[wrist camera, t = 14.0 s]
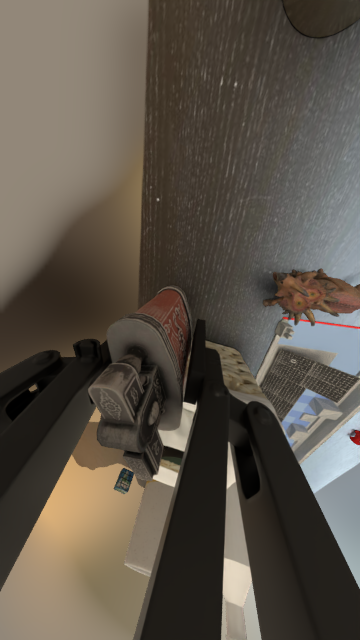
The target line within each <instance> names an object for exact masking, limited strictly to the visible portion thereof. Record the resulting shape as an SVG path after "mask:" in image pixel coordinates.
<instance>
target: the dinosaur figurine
mask: <svg viewBox="0 0 360 640" xmlns="http://www.w3.org/2000/svg"><path fill="white" fill-rule="evenodd" d="M292 272H293V273H289V274H288V273H277V272H274V273H273V278H274V281H275V282H276V284H277V285H278V292H277V293H276V294H275V296H278V297H280V296H283V297H281V298H279V299H274V300H270V299H269V300H264V301H263V302H264V303H263V305H265V307H266V306H268V305H269V306H271V305H272V306H273V305H274V304H276V303H278V304H279V305H280V306H281V307H282V308H283V310H285V312H283V313H282V314H287V313H289V317H288V320H291V319H292V318H293V316H295V320H294V325H295V326H296V325H297V324H298V323H299V321H300V319H301V315H302V313H304V314H305V315H306V316H307V318H308V319H309V321H310V322H311V326H315V318H314V315H313V313H312V311H311V310H310V309H313V310H314V309H319V310H321V311H323V312H327V313H330V314H331V315H333V316H337V317H338V316H339V315H338V314H337V313H352V312H353V311H355V310H358V309H360V284H359V285H357V286H355V287H353V286H351V285H350V284H348V283H346V282H345V281H343V280H341V279H337V278H331V277H328V276H327V275H326V274H325V273H323V269H319V271H318V272H316V271H313V272H304V273H302V272H299V271H298V272H296V271H295V270H292Z"/></svg>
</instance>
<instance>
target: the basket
mask: <svg viewBox="0 0 360 640" xmlns="http://www.w3.org/2000/svg"><path fill="white" fill-rule="evenodd" d="M192 341H193V340H192ZM206 347H207V348H211V349H215V350H217V351H218V353H219V354H220V361H221V366H222V373H223V379H224V384H225V386H226V387H227V388H228V390H229V392H230V393H231V394H232V395H233V396H234V397H236V398H237V399H239V400H241V401H243V402H245V403H246V404H248V403H249V402H251V401H258V402H260V403H262V404H264V405H265V406H267V407H268V408H269V409H270V410H271V411H272V412H273V413H274V415H275V416H276V418H277V420H278V422H279V424H280V426H281V428H282V430H283V432H284V434H285V431H284V427H283V425H282V424H281V422H280V420H279V418H278V416H277V415H276V412H275V409H274V407H273V406H272V404H271V403H270V401H269V400H268V399H267V398H266V396H265V395H264V394H263V393H262V390H261V388H260V387H259V386H258V385H257V381H256V380H255V379H254V376H253V375H252V374H251V372H250V369H249V368H248V366H247V364H246V363H245V361H244V360H243V358H242V356H241V354H240V352H238V351H237V350H236V349H233V348H230V347H226V346H223V345H220V344H215V343H212V342H210V341H206ZM189 361H190V357H189V358H188V362H187V368H186V374H185V380H184V386H183V394H185V387H186V381H187V374H188V367H189ZM183 400H184V399H183ZM196 406H197V402H196V405H193V404H190V403H186V402H183V409H182V417H181V424H180V426H179V428H178V429H176V430H172V431H162V430H158V432H159V434H160V437H161V440H162V443H163V445H165V446H169V447H172V448H175V449H178V450H181V451H185V447H186V443H187V440H188V436H189V432H190V428H191V425H192V419H193V416H194V414H195V411H196ZM179 469H180V465H177V464H174V463H173V462H172V463H171V462H170V461H167V460H164V459H161V462H160V467H159V471H158V475H154V476H153V479H154V480H157V481H159V482H162V483H164V484H167V485H170V486H173V487H175V484H176V480H177V476H178V473H179ZM235 481H236V479H235V473H234V467H233V460H232V454H231V448H230V442H228V465H227V489H228V488H229V487H230V486H231V485H232V484H233V483H234V482H235Z"/></svg>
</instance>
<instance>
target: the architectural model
mask: <svg viewBox="0 0 360 640" xmlns="http://www.w3.org/2000/svg"><path fill="white" fill-rule="evenodd" d="M294 320H295V319H294V318H292V319H291V320H288V318H287V317H283V319H282V321H279V323H278V326H277V328H276V330H275V333H276V334H275V336H274V338H273V340H272V343H271V345H270V347H269V349H268V351H267V353H266V356H265V358H264V360H263V362H262V364H261V366H260V369H259V371H258V373H257V375H256V377H255V380H256V381H257V385H258V386H259V387H260V388H261V390H262V393H263V394H264V395H265V396H266V398H267V399H268V400H269V401H270V403H271V404H272V406H273V407H274V409H275V412H276V415H277V416H278V418H279V420H280V422H281V424H282V425H283V427H284V431H285V436H286V438H287V440H288V442H289V444H290V446H291V448H292V451H293V453H294V455H295V457H296V459H297V461H298V463H299V465H300V464H301V463H302V462H303V461H304V460H305V459H306V458H308V457H309V456H310V455H311V454H312V453H313V452H314V451H315V450H316V449H318V448H319V447H320V446H321V445H322V444H323V443H324V442H325V441H326V440H328V439H329V438H330V437H331V436H332V435H333V434H334V433H335V432H336V431H338V430H339V429H340V428H341V427H342V426H343V425H344V424H345V423H346V422H348V421H349V420H350V419H351V418H352V417H353V416H354V415H355V414H356V413H358V412H359V411H360V327H354V326H346V325H339V324H331V323H324V322H316V321H315V326H311V322H310V321H309V320H301V319H300V321H299V323H298V324H297V325H296V326H295V325H294Z"/></svg>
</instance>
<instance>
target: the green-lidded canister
mask: <svg viewBox="0 0 360 640" xmlns="http://www.w3.org/2000/svg"><path fill="white" fill-rule="evenodd" d="M283 4H284V8H285V10H286V13H287V16H288V18H289V19H290V21H291V23H292V24H293V26H294V27H295V28H296V29H297V30H298V31H300V32H301V33H302V34H304V35H307V36H310V37H326V36H329V35H332V34H335V33H337V32H339V31H341V30H344V29H345V28H347V27H348V26H350V25H351V24H353V23H354V22H356V21H357V20H358V19H359V18H360V0H283Z"/></svg>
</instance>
